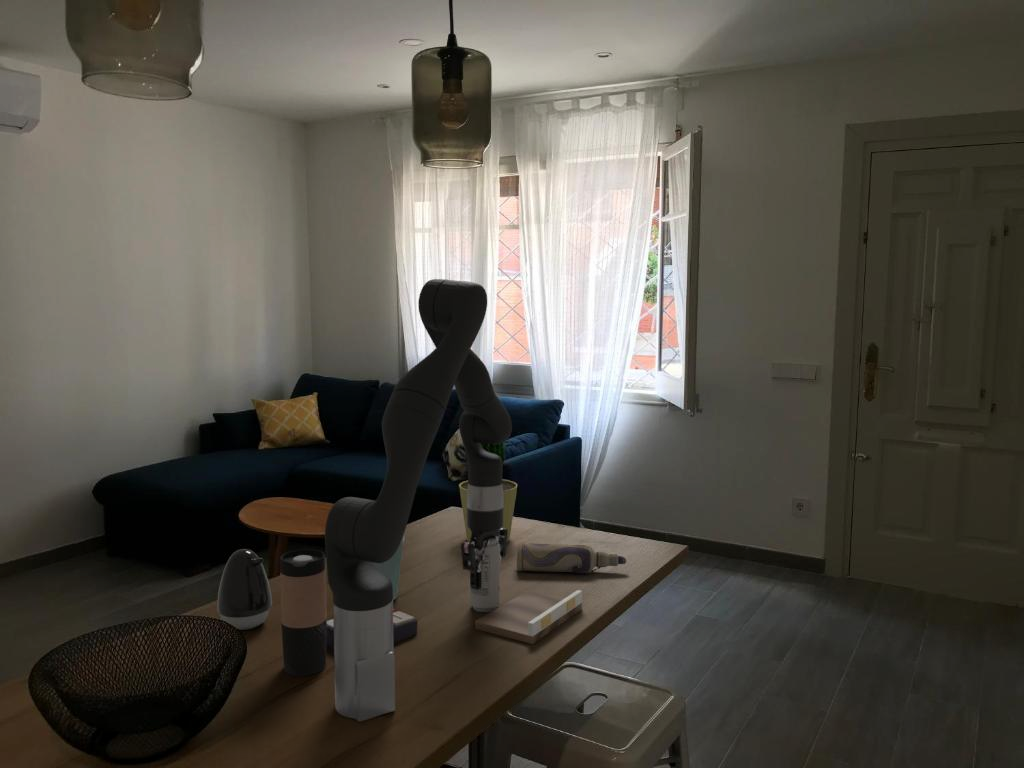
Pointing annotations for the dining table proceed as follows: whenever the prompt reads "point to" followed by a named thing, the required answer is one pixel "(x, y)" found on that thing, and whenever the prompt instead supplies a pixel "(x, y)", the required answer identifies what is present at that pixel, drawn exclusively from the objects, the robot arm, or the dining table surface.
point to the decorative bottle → (563, 558)
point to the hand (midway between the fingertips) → (485, 583)
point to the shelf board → (522, 616)
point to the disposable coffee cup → (392, 568)
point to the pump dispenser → (244, 591)
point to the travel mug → (303, 611)
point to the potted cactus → (508, 492)
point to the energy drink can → (487, 579)
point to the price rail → (554, 613)
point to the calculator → (401, 628)
